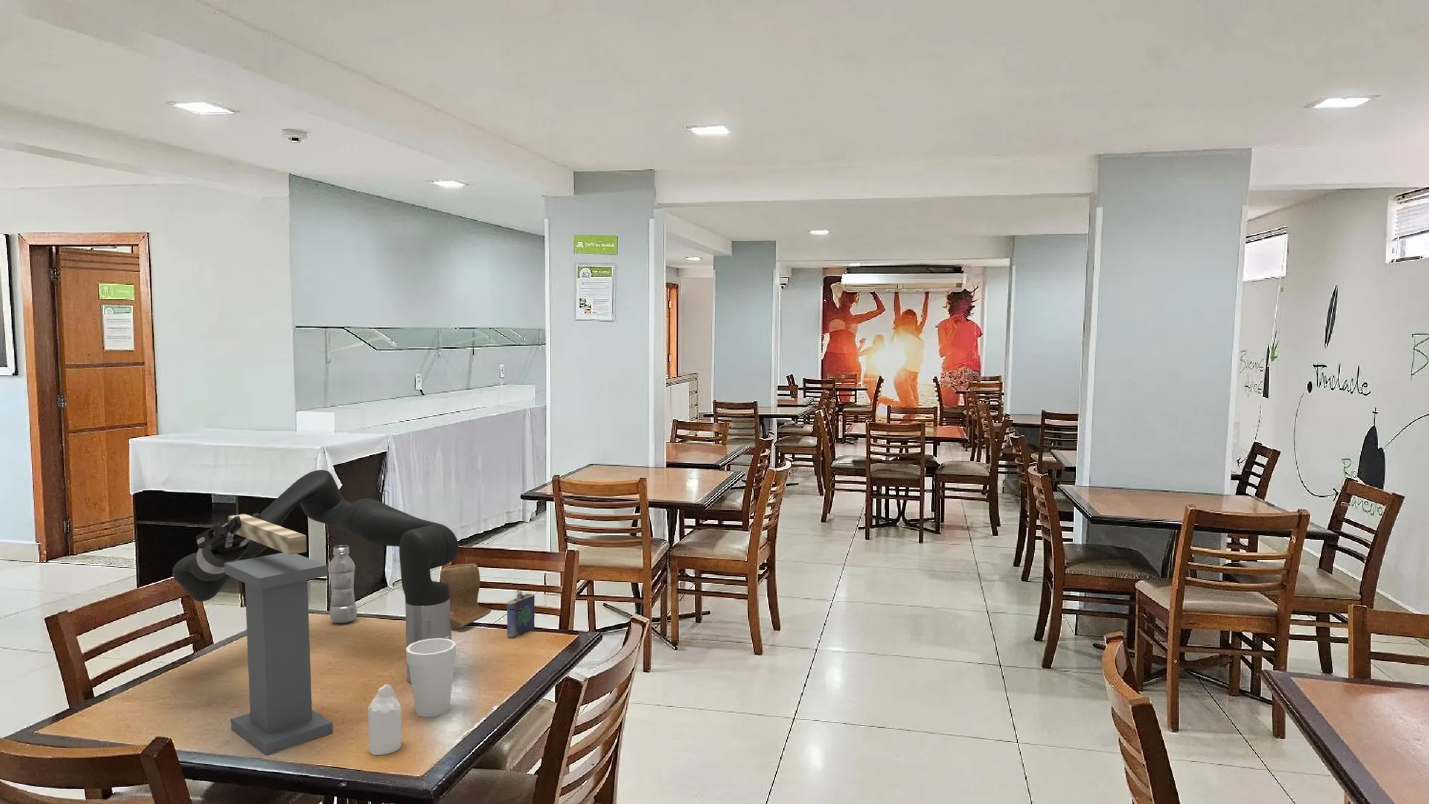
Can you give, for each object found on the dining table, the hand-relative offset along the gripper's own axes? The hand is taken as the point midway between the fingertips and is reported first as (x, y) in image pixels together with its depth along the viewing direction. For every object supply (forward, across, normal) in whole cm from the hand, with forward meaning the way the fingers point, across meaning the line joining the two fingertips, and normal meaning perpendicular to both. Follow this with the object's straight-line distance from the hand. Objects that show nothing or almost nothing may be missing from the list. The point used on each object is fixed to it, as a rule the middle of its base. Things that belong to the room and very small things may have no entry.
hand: (248, 519), depth 170 cm
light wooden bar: (+5, 0, +7) cm, 9 cm away
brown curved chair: (-36, +58, +24) cm, 73 cm away
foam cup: (+2, +24, +46) cm, 52 cm away
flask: (-19, +63, +34) cm, 74 cm away
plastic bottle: (-56, +38, +13) cm, 69 cm away
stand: (-9, 0, +40) cm, 41 cm away
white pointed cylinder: (+9, +10, +50) cm, 52 cm away
